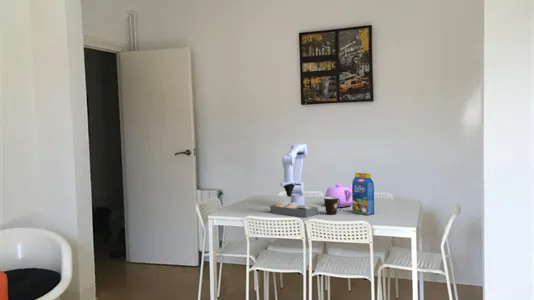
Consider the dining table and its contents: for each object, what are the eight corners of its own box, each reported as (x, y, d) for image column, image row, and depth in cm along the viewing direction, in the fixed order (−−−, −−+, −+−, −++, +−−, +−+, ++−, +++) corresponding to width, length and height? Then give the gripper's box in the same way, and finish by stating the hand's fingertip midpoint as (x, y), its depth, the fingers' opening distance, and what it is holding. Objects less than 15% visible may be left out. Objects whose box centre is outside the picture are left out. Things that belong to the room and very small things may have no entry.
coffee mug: (327, 215, 287) (327, 199, 286) (322, 213, 295) (321, 197, 295) (345, 214, 290) (345, 198, 290) (339, 211, 298) (338, 196, 298)
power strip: (282, 209, 310) (281, 203, 310) (317, 214, 292) (317, 207, 292) (270, 212, 301) (270, 205, 300) (306, 217, 283) (306, 210, 282)
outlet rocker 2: (294, 203, 301) (293, 201, 301) (301, 204, 298) (301, 202, 297) (286, 209, 295) (285, 207, 294) (293, 210, 291) (292, 208, 291)
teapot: (342, 210, 303) (341, 186, 303) (320, 205, 321) (320, 183, 320) (367, 206, 316) (367, 183, 315) (345, 202, 333) (345, 180, 333)
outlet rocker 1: (283, 202, 307) (282, 200, 307) (290, 203, 303) (289, 201, 303) (274, 208, 300) (274, 206, 300) (281, 208, 297) (281, 206, 297)
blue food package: (367, 215, 284) (367, 174, 283) (352, 213, 293) (351, 172, 292) (374, 214, 288) (373, 173, 286) (358, 211, 297) (358, 171, 296)
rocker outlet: (305, 208, 295) (305, 206, 296) (313, 209, 292) (313, 207, 292) (297, 207, 289) (297, 205, 289) (304, 208, 285) (305, 206, 285)
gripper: (286, 176, 290) (287, 198, 291) (300, 174, 301) (301, 195, 302) (277, 175, 295) (278, 197, 295) (291, 173, 306) (292, 194, 306)
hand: (289, 196), depth 299 cm, fingers closed
